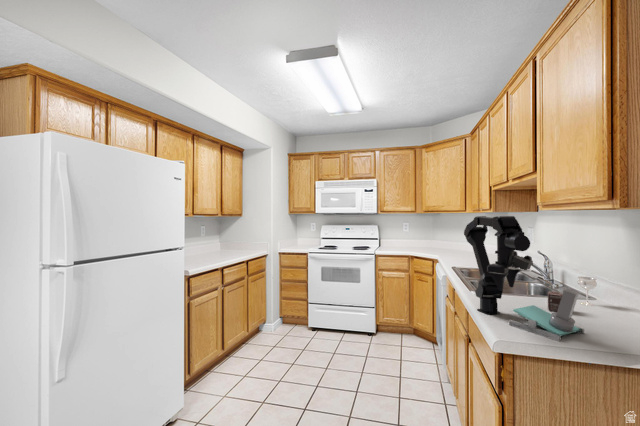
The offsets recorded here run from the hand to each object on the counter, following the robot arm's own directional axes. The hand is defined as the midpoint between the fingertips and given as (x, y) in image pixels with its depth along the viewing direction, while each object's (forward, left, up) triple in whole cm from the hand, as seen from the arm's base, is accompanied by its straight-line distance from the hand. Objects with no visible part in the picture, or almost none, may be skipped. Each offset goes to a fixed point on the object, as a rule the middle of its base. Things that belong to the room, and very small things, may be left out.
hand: (506, 288), depth 120 cm
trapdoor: (+9, +8, -11) cm, 16 cm away
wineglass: (-12, +55, -13) cm, 58 cm away
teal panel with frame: (+9, +8, -13) cm, 18 cm away
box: (-8, +33, -13) cm, 36 cm away
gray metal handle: (+14, +9, -10) cm, 20 cm away
